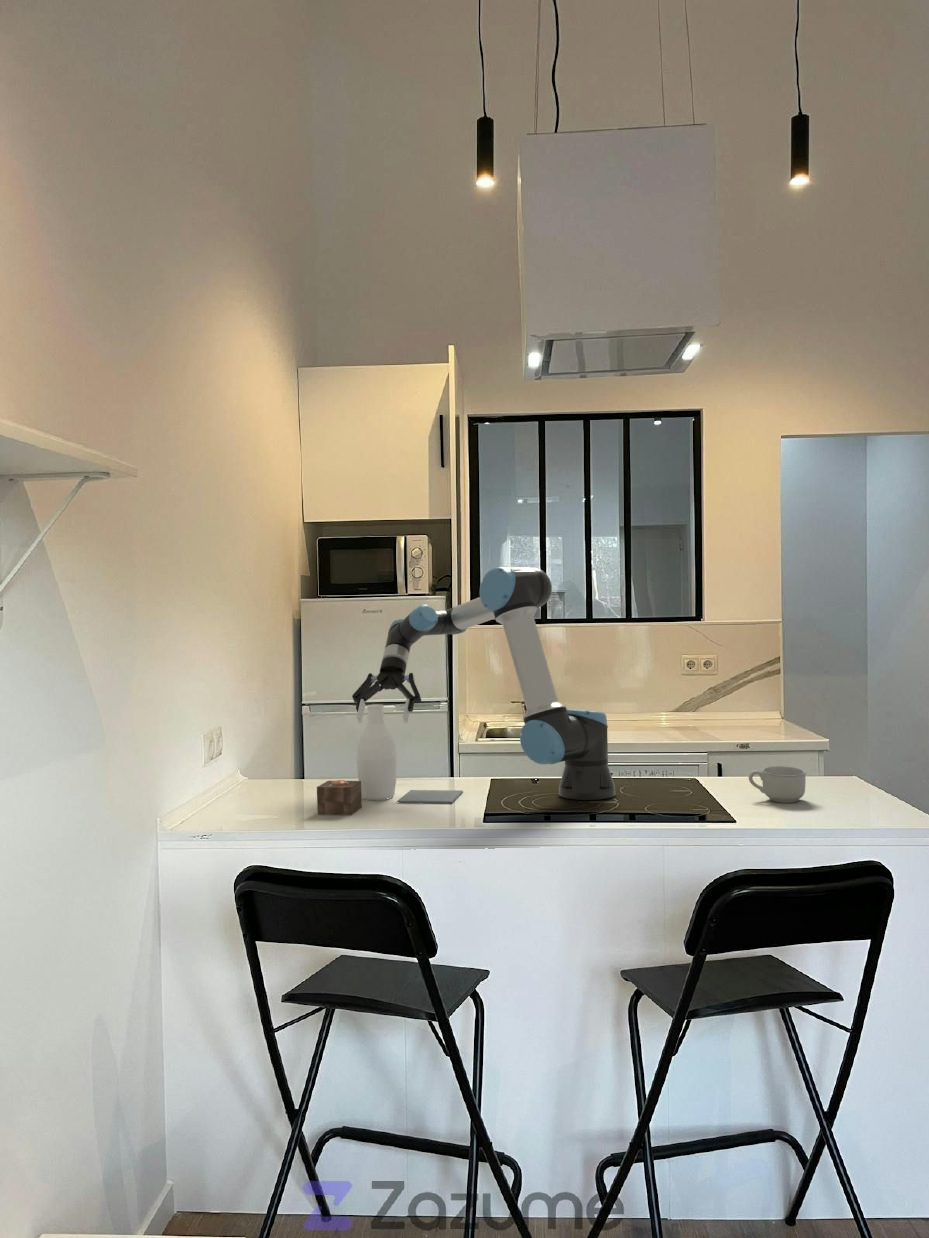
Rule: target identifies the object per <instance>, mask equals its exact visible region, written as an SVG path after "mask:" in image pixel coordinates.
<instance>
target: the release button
mask: <svg viewBox="0 0 929 1238" xmlns="http://www.w3.org/2000/svg"><path fill="white" fill-rule="evenodd" d="M331 781H332V782H331V784H330V785H328V786H346V785H348V784H349V783H350V782H347V781H348V780H343V779H342V780H341V779H338V780H331Z"/></svg>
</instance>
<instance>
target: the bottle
mask: <svg viewBox="0 0 929 1238" xmlns="http://www.w3.org/2000/svg"><path fill="white" fill-rule="evenodd" d="M366 707H367V723H366V725H365V727H364V729H363V731H362V733H361V735H360V737H359V740H358V745H357V750H356V766H357V767H356V769H357V770H356V771H357V781H361V794H362V799H363V800H367V801H385V800H384V799H386V800H388V799H387V798H390V797H392V798H394V796H395V794H396V784H397V777H398V775H397V773H398V755H397V749H396V744H395V741H394V739H393V736H392V733H391V732H390V730H389V728H388V727H387V725H386V723H385V717H384V704H374V703H373V704H368V705H367V704H366ZM390 799H391V798H390Z"/></svg>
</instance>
